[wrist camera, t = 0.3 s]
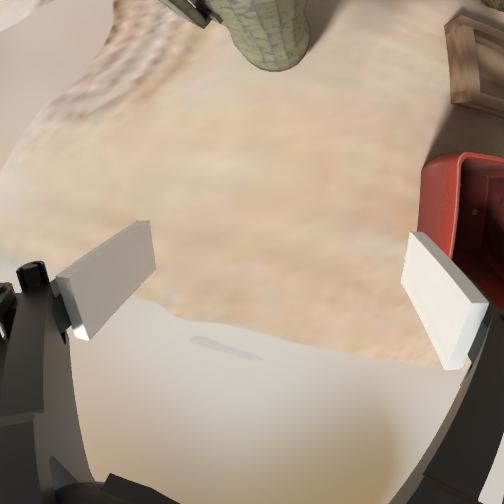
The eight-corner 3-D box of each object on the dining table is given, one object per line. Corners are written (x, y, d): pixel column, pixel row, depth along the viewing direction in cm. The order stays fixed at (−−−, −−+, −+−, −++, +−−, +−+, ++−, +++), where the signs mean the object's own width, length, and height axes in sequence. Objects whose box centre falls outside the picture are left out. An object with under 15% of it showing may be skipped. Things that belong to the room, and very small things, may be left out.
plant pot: (504, 153, 32) (576, 174, 17) (490, 267, 39) (542, 321, 24) (401, 140, 35) (458, 150, 20) (393, 269, 42) (429, 337, 27)
